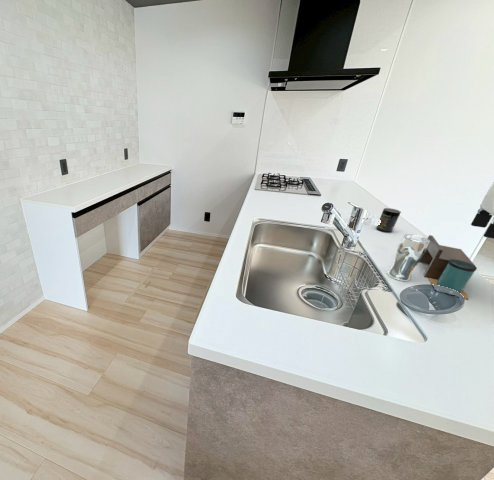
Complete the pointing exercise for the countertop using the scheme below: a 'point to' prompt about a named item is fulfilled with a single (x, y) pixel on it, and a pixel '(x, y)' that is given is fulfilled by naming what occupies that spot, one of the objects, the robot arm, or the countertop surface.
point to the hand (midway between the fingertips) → (484, 231)
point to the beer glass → (408, 256)
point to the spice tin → (456, 274)
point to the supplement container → (388, 219)
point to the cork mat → (434, 281)
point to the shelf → (440, 258)
